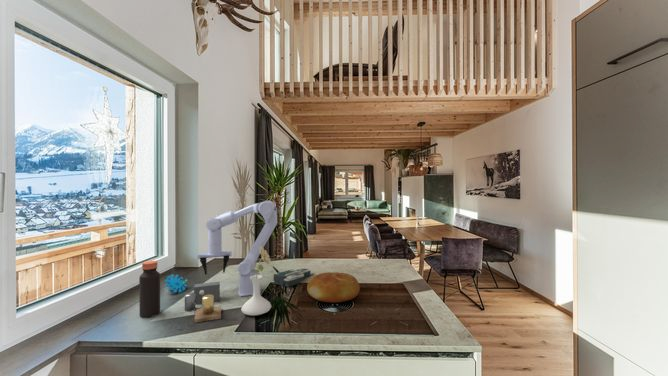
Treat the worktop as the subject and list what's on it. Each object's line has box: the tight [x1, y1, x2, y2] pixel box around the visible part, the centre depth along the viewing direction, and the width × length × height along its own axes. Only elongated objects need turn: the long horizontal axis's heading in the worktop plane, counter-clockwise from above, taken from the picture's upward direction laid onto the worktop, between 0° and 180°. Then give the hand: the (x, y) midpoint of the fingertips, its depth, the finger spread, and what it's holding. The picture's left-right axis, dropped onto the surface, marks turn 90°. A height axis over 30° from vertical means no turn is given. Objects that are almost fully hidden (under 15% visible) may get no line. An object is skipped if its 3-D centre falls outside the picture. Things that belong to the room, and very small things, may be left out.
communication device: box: [272, 266, 311, 288], centre depth 152 cm, size 12×24×9 cm, turn 149°
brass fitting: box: [201, 295, 215, 315], centre depth 109 cm, size 4×4×6 cm
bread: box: [306, 271, 361, 304], centre depth 129 cm, size 23×23×10 cm
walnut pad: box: [193, 305, 222, 323], centre depth 109 cm, size 9×9×1 cm
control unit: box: [193, 281, 221, 304], centre depth 123 cm, size 10×5×7 cm, turn 112°
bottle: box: [138, 260, 161, 318], centre depth 110 cm, size 7×7×20 cm
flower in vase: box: [240, 247, 272, 316], centre depth 113 cm, size 13×11×25 cm
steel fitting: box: [184, 292, 197, 312], centre depth 114 cm, size 4×4×6 cm
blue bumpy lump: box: [164, 274, 188, 294], centre depth 135 cm, size 11×6×10 cm
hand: (214, 272), depth 132 cm, fingers open, 7 cm apart
